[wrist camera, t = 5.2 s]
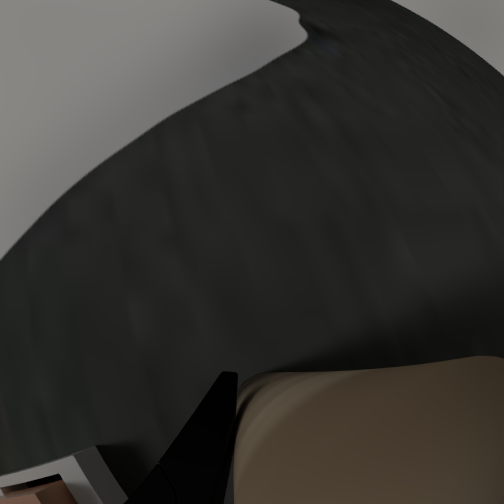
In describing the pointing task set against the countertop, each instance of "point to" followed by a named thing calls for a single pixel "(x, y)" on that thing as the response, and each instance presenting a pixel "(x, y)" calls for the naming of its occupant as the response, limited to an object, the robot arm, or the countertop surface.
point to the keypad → (72, 478)
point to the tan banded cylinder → (373, 435)
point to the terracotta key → (41, 495)
